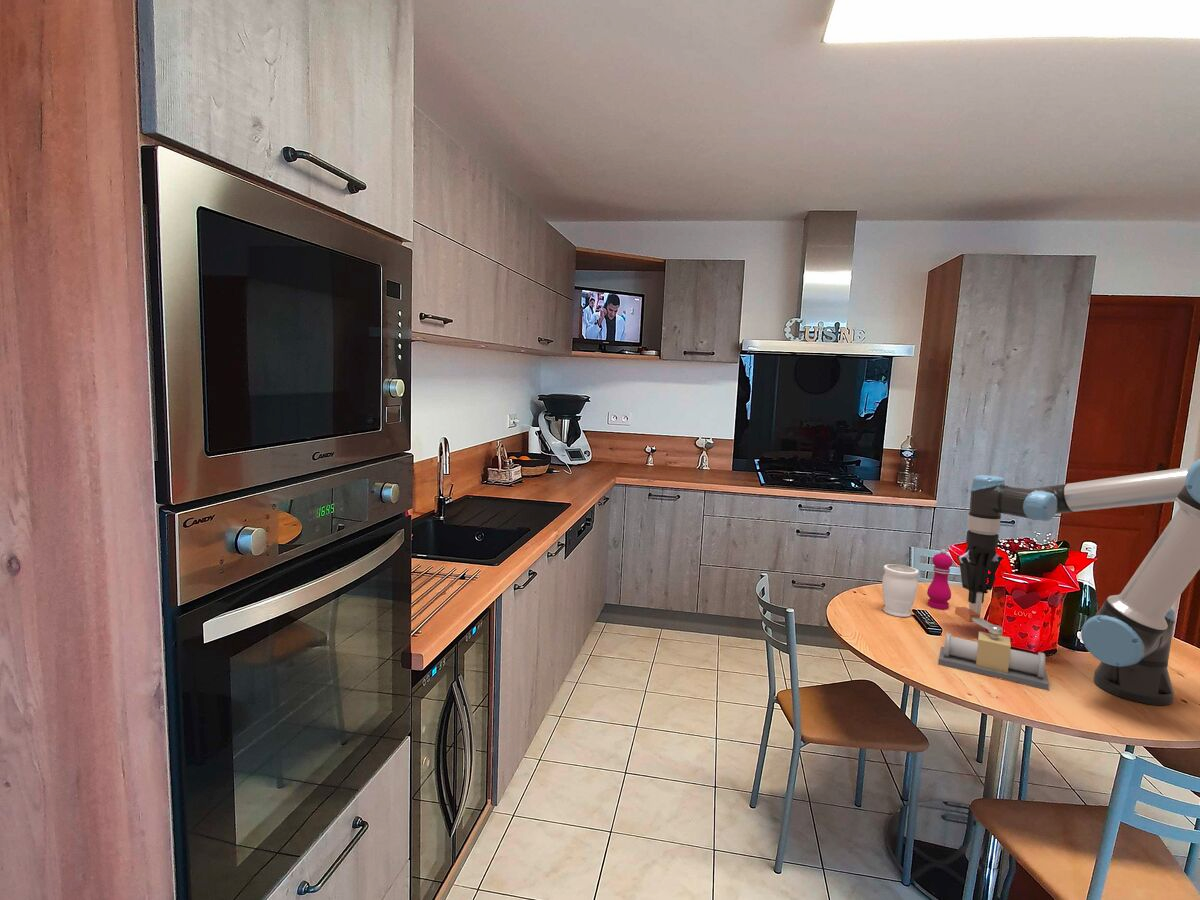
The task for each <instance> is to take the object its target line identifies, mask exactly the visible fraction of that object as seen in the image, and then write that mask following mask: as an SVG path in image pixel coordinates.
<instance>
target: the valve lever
mask: <svg viewBox="0 0 1200 900" xmlns="http://www.w3.org/2000/svg"><path fill="white" fill-rule="evenodd" d="M954 609H955V610H954V615H956V616H958V617H960V618H962V619H963V620H965V621H966V622H969V623H975V624H977V625H979V626H980V627H982V628H984V629H986V630H988V632H987V633H990V634H991V633H992V634H995V635H1000V636H1003V635H1002V634H1003V627H1002V626H1001V625H997V624H993V623H992V622H991V623H990V622H989V621H987V620H985V619H983V618H981V614H980V615H979V614H978V613H976V612H974V611H972V610H970V609H969V607H966V606H955V607H954Z"/></svg>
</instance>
